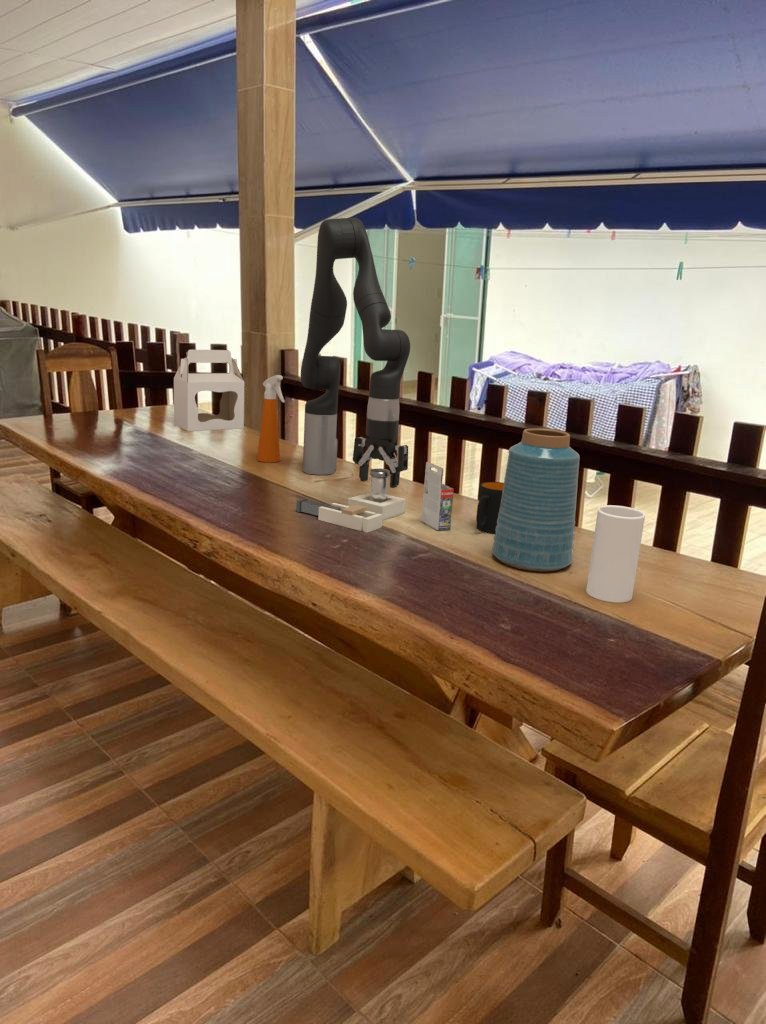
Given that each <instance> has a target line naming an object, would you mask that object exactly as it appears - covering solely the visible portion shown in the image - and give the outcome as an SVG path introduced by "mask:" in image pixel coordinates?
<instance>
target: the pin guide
mask: <svg viewBox="0 0 766 1024" xmlns="http://www.w3.org/2000/svg"><path fill="white" fill-rule="evenodd" d="M330 505H331V506H335V507H339V508H340V511H339V510H335V509H331V508H327V507H323V506H321V507H319V516H318V519H317V520H318V521H322V522H325V523H330V524H334V525H336V526H340V527H344V528H348V529H351V530H352V529H353V530H356V531H360V532H361V531H362V532H364V533H366V534H367V533H370V532H373V531H375V530H379V529H381V528H383V521H382V519H383V515H382V514H376V513H374V512H370V511H367V507H365V506H361V505H353V506H348V505H345V504H340V503H337V502H332V503H331V504H330Z"/></svg>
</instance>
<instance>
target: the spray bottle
mask: <svg viewBox="0 0 766 1024" xmlns="http://www.w3.org/2000/svg"><path fill="white" fill-rule="evenodd" d="M283 378H284V377H283V376H282V375H281V374H275V375H272V376H270V377H269V378H267V379H265V380H264V381H263V382H262V385H263V387H264V388H265V391H264V392H263V393H264V394H263V405H262V414H261V421H260V422H261V424H260V429H259V430H260V431H259V439H258V447H257V456H256V460H257V461H258V462H260V463H267V464H268V463H269V464H272V463H279V462H280V461H281V454H280V450H281V449H280V437H279V436H280V435H279V422H278V420H279V419H278V406H277V396H278V398H279V400H280V401H281V402H282V403H286V400H285V399H284V396H283V392H282V390H281V389H282V388H281V383H282V381H283Z"/></svg>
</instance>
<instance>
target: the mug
mask: <svg viewBox="0 0 766 1024" xmlns="http://www.w3.org/2000/svg"><path fill="white" fill-rule="evenodd" d="M503 485H504V482H501V481H485V482H482V483H481V484H480V486H479V497H478V503H477V508H476V516H475V517H476V520H475V521H476V527H475V528H476V529H477V530H478V531H479V532H482V533H486V534H489V535H495V533H496V530H495V529H496V525H497V518H498V512H499V508H500V503H501V496H502V490H503Z"/></svg>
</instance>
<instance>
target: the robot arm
mask: <svg viewBox="0 0 766 1024" xmlns="http://www.w3.org/2000/svg"><path fill="white" fill-rule="evenodd" d="M319 225H320V226H319V227H318V228H319V229H318V233H317V242H316V243H317V244H316V245H317V246H316V247H317V248H316V265H315V266H316V267H315V277H314V284H313V292H312V298H311V303H310V311H309V320H308V330H307V338H306V342H305V348H304V352H303V357H302V361H301V366H300V367H301V368H300V382H301V385H302V386H303V387H304V388H306V389H313V390H314V389H317V390H325V392H324V393H323V394H322V395H320V396H319V397H317V398H313V399H311V400H308V401H306V402H305V404H304V419H303V421H304V423H303V424H304V427H303V450H302V451H303V453H302V472H303V473H306V474H308V475H309V474H311V475H317V476H318V475H320V476H323V475H325V476H326V475H332V474H334V473H335V472H336V471H337V463H338V462H337V461H338V458H337V457H338V443H339V441H338V438H337V425H338V424H337V421H338V406H339V405H338V403H339V389H340V381H341V380H340V379H341V362H340V359H339V358H338V357H337V356H332V355H320V353H321V351H322V349H324V347H325V346H326V345H327V344H328V343H329V342H330V341H332V339H333V338H335V336H337V334H339V332H340V331H341V330H342V328H343V327H344V323H345V319H346V313H347V309H348V300H347V297H346V294H345V292H344V290H343V288H342V286H341V285H340V283H339V281H338V280H337V278H336V275H335V273H334V264H335V261H336V260H343V259H345V260H346V259H353V258H354V259H355V260H356V262H357V264H358V271H357V276H356V280H355V282H354V287H353V290H352V291H353V292H352V295H353V298H352V299H353V303H354V307H355V309H356V311H357V313H358V316H359V319H360V322H361V327H362V335H363V339H362V340H363V349H364V352H365V354H366V355H367V357H368V358H369V359H371V360H372V361H374V362H376V361H377V362H386V364H385V366H384V367H383V368H382V369H380V370H376V371H374V372H372V373H371V374H370V377H369V393H368V401H367V409H366V422H365V423H366V424H365V425H366V426H365V435H366V438H365V437H364V436H360V437H359V436H358V437H355V438H354V445H353V453H352V461H353V462H354V463H357V464H358V465H359V471H358V472H359V473H358V474H359V475H358V477H359V479H360V480H359V481H360V482H367V481H368V479H369V469H370V468H369V465H368V464H369V463H370V462H371V461H372V460H379V461H381V462H385V464H386V465H388V467H389V469H390V476H389V477H390V478H389V488H392V489H395V488H397V487H398V486H399V484H400V474H401V472H404V471H407V470H408V468H409V445H407V444H404V445H400V444H399V445H398V443H397V439H398V434H399V424H400V423H399V421H400V392H401V391H400V390H401V380H402V376H403V375H404V371H405V369H406V365H407V362H408V359H409V355H410V352H411V341H410V338H409V337H410V336H409V335H408V334H407V333H406V331H404V330H401V329H387V328H386V329H383V328H385V327H386V326H387V325H389V324H390V322H391V319H392V313H391V311H390V308H389V305H388V303H387V300H386V298H385V295H384V293H383V291H382V289H381V285H380V282H379V278H378V275H377V270H376V265H375V260H374V256H373V252H372V248H371V244H370V240H369V236H368V233H367V230H366V227H365V225H364V223H363V222H362V220H361V219H359V218H357V217H341V218H339V217H338V218H329V219H328V218H327V219H324V220H323V221H322V222H321V223H320V224H319ZM364 447H366V451H365V452H364V449H365V448H364ZM396 454H397V455H396Z"/></svg>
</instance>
